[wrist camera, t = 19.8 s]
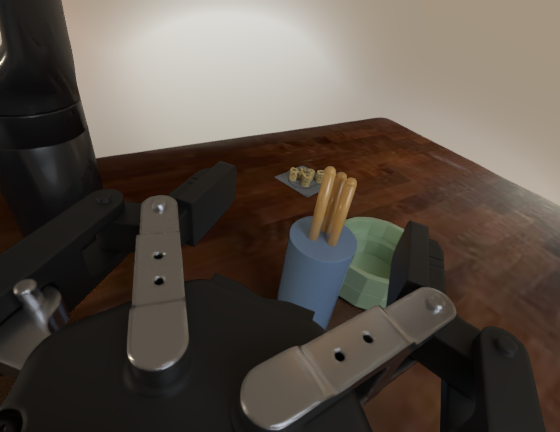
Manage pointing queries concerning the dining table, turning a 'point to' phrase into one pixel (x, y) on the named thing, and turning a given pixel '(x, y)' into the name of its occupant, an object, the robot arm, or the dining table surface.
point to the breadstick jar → (320, 250)
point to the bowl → (370, 261)
